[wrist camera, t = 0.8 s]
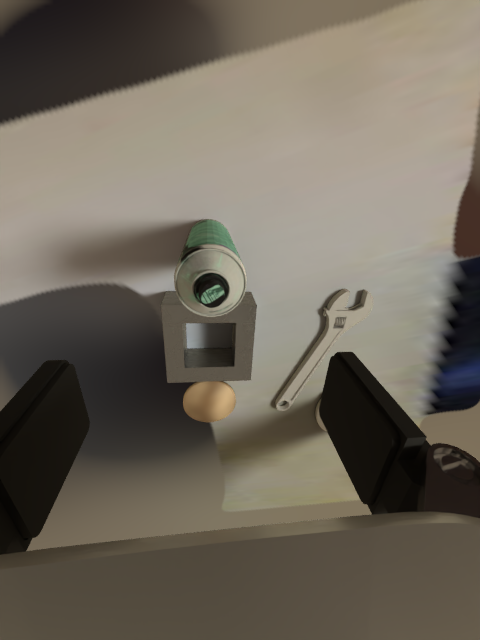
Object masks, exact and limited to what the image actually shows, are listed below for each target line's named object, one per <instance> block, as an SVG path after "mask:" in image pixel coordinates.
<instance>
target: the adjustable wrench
mask: <svg viewBox="0 0 480 640" xmlns="http://www.w3.org/2000/svg"><path fill="white" fill-rule="evenodd" d="M349 294H350V291H348V290H347V289H342V290H341V291H339V292H338V293H337V294H336V295H334V297H333V298H332V299H331V300H330V302H329V303H328V305H327V308H324V312H323V316H326V326H325V329H324V331H323V333H322V334H321V336H320V337H319V339H318V340H317V341H316V343H315V344H314V346H313V347H312V349H311V350H310V351H309V353H308V354H307V356H306V357H305V359H304V360H303V361H302V363H301V364H300V366H299V367H298V369H297V370H296V372H295V373H294V374H293V376H292V377H291V379H290V380H289V382H288V383H287V384H286V386H285V387H284V389H283V390H282V392H281V393H280V394H279V396H278V397H277V399H276V401H275V404H276V407H277V409H278V410H280V411H285V410H287V409H289V408H290V406H291V405H292V403H293V402H294V400H295V399H296V398H297V396H298V395H299V393H300V392H301V390H302V389H303V387H304V386H305V385H306V383H307V382H308V380H309V379H310V377H311V376H312V374H313V373H314V372H315V370H316V369H317V367H318V366H319V364H320V363H321V361H322V360H323V359H324V357H325V356H326V354H327V353H328V351H329V350H330V348H331V347H332V346H333V344H334V343H335V341H336V340H337V339H338V338H339V337H340V336H341V335H342V334H343V333H344V332H346V331H347V330H348V329H350V328H351V327H353V326H354V325H356V324H357V323H359V322H361V321H362V320H364V319H365V318H366V317H367V316H368V315H369V314H370V312H371V310H372V307H373V297H372V295H371V293H369V292H368V291H366V290H363V294H362V297H361V301H360V304H358V305H356V306H354V307H352V308H345V306H347V302H348V298H349ZM281 401H287V403H286V404H285V405H278V404H279V403H280V402H281Z"/></svg>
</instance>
